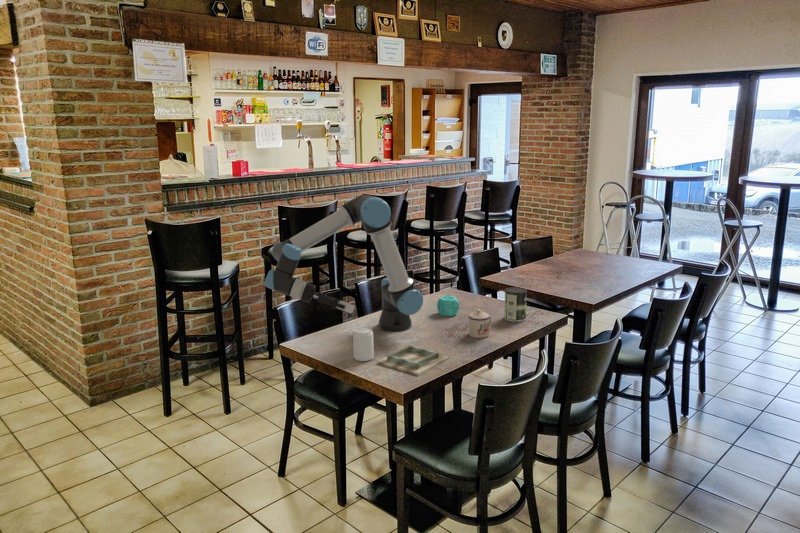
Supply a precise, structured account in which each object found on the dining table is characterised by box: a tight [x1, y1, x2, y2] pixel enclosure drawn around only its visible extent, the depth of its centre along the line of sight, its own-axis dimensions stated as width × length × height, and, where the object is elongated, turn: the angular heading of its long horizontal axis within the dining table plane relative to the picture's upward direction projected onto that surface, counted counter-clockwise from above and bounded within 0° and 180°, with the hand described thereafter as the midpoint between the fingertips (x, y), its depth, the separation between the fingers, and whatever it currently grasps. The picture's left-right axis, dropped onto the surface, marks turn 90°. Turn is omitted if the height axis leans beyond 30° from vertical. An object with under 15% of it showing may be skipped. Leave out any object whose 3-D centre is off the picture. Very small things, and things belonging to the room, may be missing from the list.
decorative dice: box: [436, 295, 460, 317], centre depth 297 cm, size 8×8×8 cm
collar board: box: [377, 344, 449, 377], centre depth 240 cm, size 20×20×3 cm
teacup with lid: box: [468, 308, 492, 339], centre depth 268 cm, size 12×9×12 cm
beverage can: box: [352, 326, 375, 362], centre depth 243 cm, size 8×8×12 cm
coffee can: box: [503, 286, 528, 323], centre depth 288 cm, size 10×10×14 cm
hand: (353, 309), depth 244 cm, fingers open, 13 cm apart
